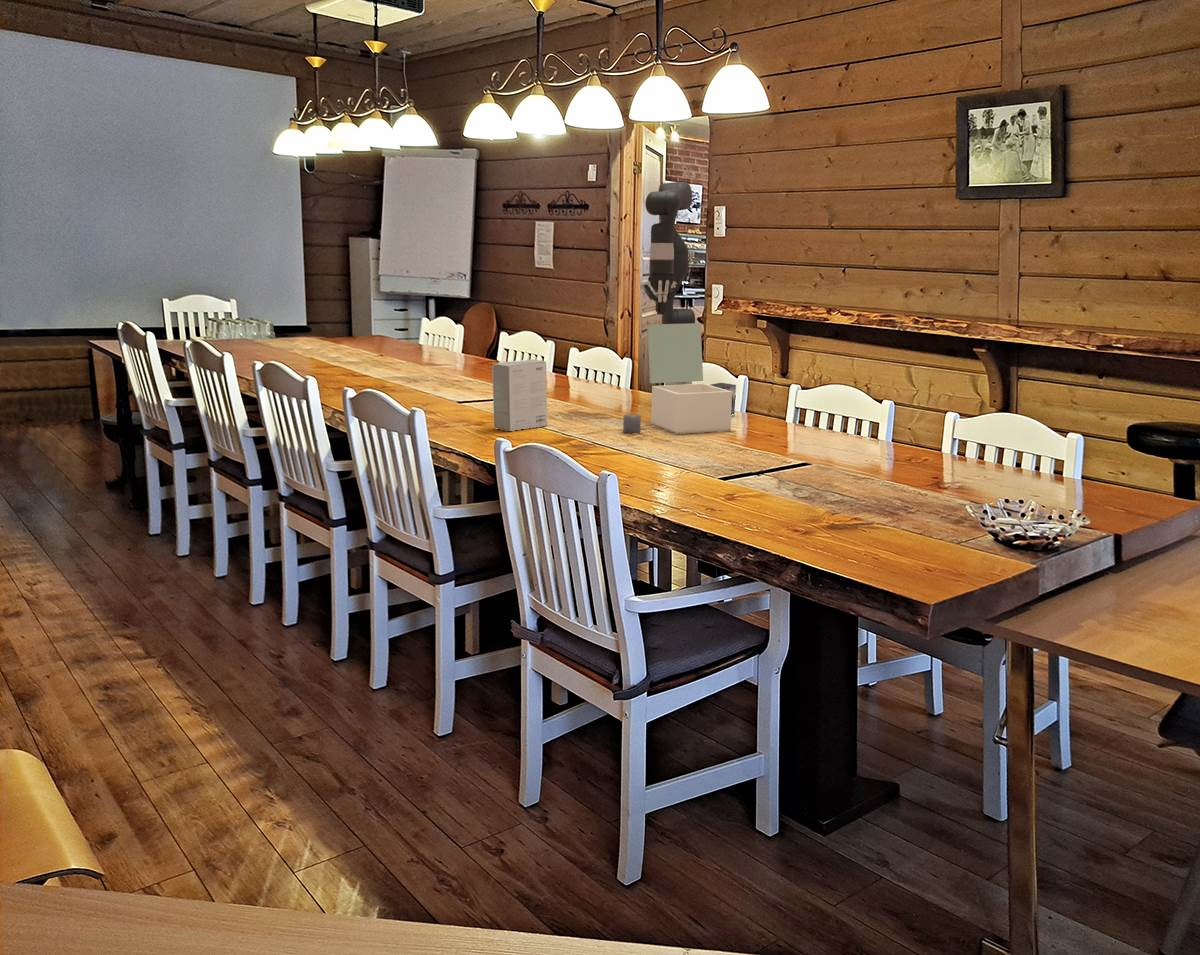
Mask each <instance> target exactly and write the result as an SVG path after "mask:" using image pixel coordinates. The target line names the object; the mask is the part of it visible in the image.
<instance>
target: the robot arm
mask: <svg viewBox="0 0 1200 955" xmlns="http://www.w3.org/2000/svg"><path fill="white" fill-rule="evenodd" d="M692 191H693V190H692V187H691V185H690V183H688V182H686V181H676V182H675V181H674V182H664V183H660V184H659V187H658V191H651V192H649V193H648V194H647V195H646V198H645V201H644V202H645V206H644V207H645V210H646V212H647V213H648V214H649V215H651V216H659V221H660V222H657V223H653V224H652V225H651V228H650V246H649V270H648V271H649V272H648V273H649V275H648V278H647V281H646V282H645V283H642V284H641V288H642V290H643V291H644V292H645V294H646V295H647V297H648V299H649V300H650V301H654V302H655V312H656V314H657V315H661V324H692V323H696V315H695V311H694V310H693V309H691V308H674V301H675V297H676V295H677V292H678V291H679V289H680V288H681V285H682V283H683V282H684V280H685V278H686V277H687V274H688V273H689V270H690V261H689V259H690V256H689V254H690V253H689V248H688V245H687V244H686V242H685V241H684V239H683V238H682V236H681V235H680V234H679V232H678V231H677V229H676V228H675V224H676V221H677V216H678V213H679V211H685V210H688V209H690V208H691V206H692V204H693V192H692ZM685 384H693V381H690V382H669V383H664V385H685Z"/></svg>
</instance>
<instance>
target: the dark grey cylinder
mask: <svg viewBox="0 0 1200 955" xmlns="http://www.w3.org/2000/svg"><path fill="white" fill-rule="evenodd" d="M641 419H642V415H640V414H634V413H633V414H631V413H630V414H624V415H623V419H622V420H623V422H622V423H623V424H622V427H623V428H622V430H623V431H622V433H623V432H624V433H623V434H626V433H630V434H629V435H634V434H633V433H638V434H641V433H640V432H642V429H641V427H642V426H641V425H642V424H641V423H642V420H641Z"/></svg>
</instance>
